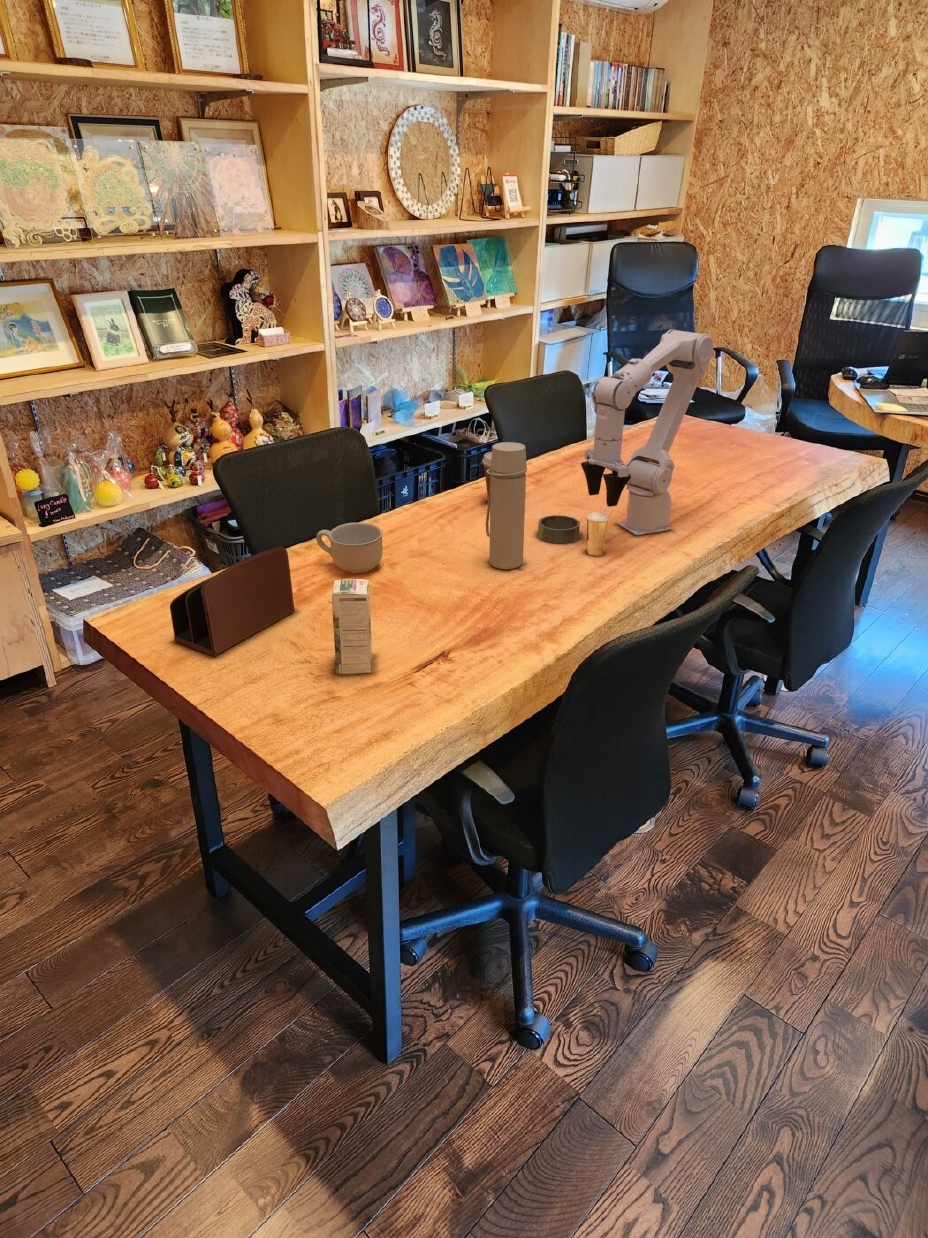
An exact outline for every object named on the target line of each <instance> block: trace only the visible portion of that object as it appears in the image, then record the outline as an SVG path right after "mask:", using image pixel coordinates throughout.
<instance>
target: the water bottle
mask: <svg viewBox="0 0 928 1238" xmlns="http://www.w3.org/2000/svg"><path fill="white" fill-rule="evenodd" d="M491 449H492V450H491V452H492V457H491V466H490V467H489V468H490V469H488V470H487V471H486V472H487V473H488V474H490V475H491V479H490V489H489V498H488V497H487V508H486V517H485V534H486V537H488V538H489V550H488V551H489V556H488V557H489V558H488V559H489V564H490V565H491V566H493V567H494V568H496V569H500V570H514V569H517V568H519V567H520V566H521V565H523V563H524V546H525V520H526V519H525V518H526V517H525V515H526V491H527V489H526V487H527V474H526V473H527V471H528V465H527V449H526V445H525V444H522V443H520V442H514V441H502V442H497V443H495V444H493V445H492V448H491ZM488 471H490V473H489V472H488Z"/></svg>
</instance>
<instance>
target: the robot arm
mask: <svg viewBox="0 0 928 1238" xmlns="http://www.w3.org/2000/svg"><path fill="white" fill-rule="evenodd" d="M713 354H714V343H713V339H712V336H711V335H710V334H709V333H699V332H691V331H685V330H677V329H675V328H671V329H669V330H667V331H666V332H665V333H663V334H662V335H661V338H660V341H659V344H657V345H656V346H655V347H654V348H653V349H651V351H650V352H648V354H646V355H645V356H644V357H643V358H633V357H632V358H631V359H629V360H628V363H626V364H625V365H624V366H622V367H621V368H620V369H619V370H616V371H615V372H614V374H612V375H611V376H603V377H601V378H600V379H598V380H597V381H596V382H595V383H594V386H593V390H592V391H591V400H592V402H593V411H594V414H595V426H594V438H593V448H588V449H585V450H584V460H586V461H582V462H580V467H581V469H582V471H583V473H584V477H585V481H586V486H587V491H588V495H589V496H598V495H599V494H600V491H601V486H602V482H603V481H602V479H603V480H604V484H605V490H606V493H605V494H606V506H607V507H610V508H611V507H617V505H618V503H619V501H620V499H621V496H622V493H623V491H624V489H625V488H626V489H625V490H628V497H627V498H628V499H627V506H626V507H627V508H626V517H625V518H626V519H625V520H623V521H619V522H617V525H618V526H620V527H622V528H623V529H624V530H626V531H628V532H630V533H631V534H633V535H634V536H642V535H649V534H654V533H660V532H661V533H662V532H666V531H670V530H671V527H670V520H671V512H672V503H673V502H672V495H671V493H670V492H669V491H668V489H669V488H670V486H671V484H672V479H673V472H674V469H675V463H674V460H673V459H672V457H671V455H670V454H669V452H670V450H671V448H672V446H673V443H674V441H675V438H676V436H677V434H678V431H679V429H680V427H681V424H682V421H683V419H684V417H685V415H686V412H687V410H688V408H689V406H690V403H691V401H692V399H693V396H694V394H695V391H696V389H697V386H698V384H699V382H700V379H701V378H703V377H704V376H705V373H706V371H707V368H708V366H709V364H710V363H711V359H712V357H713ZM665 366H666V369H667V371H668V372H669V373H670V374H672V378H673V380H672V382H671V385H670V387H669V390H668V391H667V394H666V397H665V400H664V402H663V403H662V406H661V408H660V410H659V413H658V414H657V415H658V416H657V418H656V420H655V422H654V425H653V427H652V430H651V432H650V434H649V437H648V439H647V441H646V444H645V445H643V446H642V447H640V448H639V447H638V448H637V449H635V450H634V451H633V452H632V454H631V456H630V458H629V460H628V461H627V462H626V463H625V462H624V460H623V459H622V458H621V454H622V444H623V434H624V426H625V425H624V424H625V413H626V409H627V408H628V407H629V406H630V405H631V403H632V401H633V398H634V397H635V396H636V394H637V392H639V391H640V390H642V388H644V387H645V386H647V385H649V383H650V382H651V381H652V377H653V373H655V372H657V371H658V370H660V369H661V368H663V367H665ZM606 469H607V470H609V471H611V472H609V473H605V470H606Z"/></svg>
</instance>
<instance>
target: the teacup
mask: <svg viewBox="0 0 928 1238" xmlns="http://www.w3.org/2000/svg"><path fill="white" fill-rule="evenodd" d="M323 536H326V537H327V539H328V540H329V543H330V546H328V545H327V544H326V543H325V542H324V541H323V538H322V537H323ZM315 540H316V543H317V546H318V547H319V548H320V549H322V551H324V552H325V553H327V554H329V555H330V557H331V559H332V561H333V563H334V565H336V567H338V568H339V569H340V570H342V571H343V572H346V573H348V574H355V575H356V574H364V573H365V574H366V573H369V572H370V571H372V570H373V569H374V568H375V567H377V566H378V565H379V563H380V562H381V561H382V559H383V558H382V557H383V529H382V528H380V527H379V526H377V525H376V524H373V523H368V522H348V523H343V524H339V525H338V526H336V527H334V528H332V529H331V530H328V529H322V530H319V531H318V532H317V534H316V537H315Z"/></svg>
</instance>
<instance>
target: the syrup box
mask: <svg viewBox="0 0 928 1238" xmlns="http://www.w3.org/2000/svg"><path fill="white" fill-rule="evenodd" d="M332 586H333V587H332V593H331V607H332V624H333V625H332V626H333V628H332V629H333V642H334V644H333V645H334V658H335V659H334V660H335V673H336V674H337V675H354V674H371V673H372V658H373V650H372V649H373V646H372V645H373V644H372V622H371V621H372V620H371V619H372V618H371V597H370V580H369V579H360V578H345V579H336V580H334V581H333V585H332Z"/></svg>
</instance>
